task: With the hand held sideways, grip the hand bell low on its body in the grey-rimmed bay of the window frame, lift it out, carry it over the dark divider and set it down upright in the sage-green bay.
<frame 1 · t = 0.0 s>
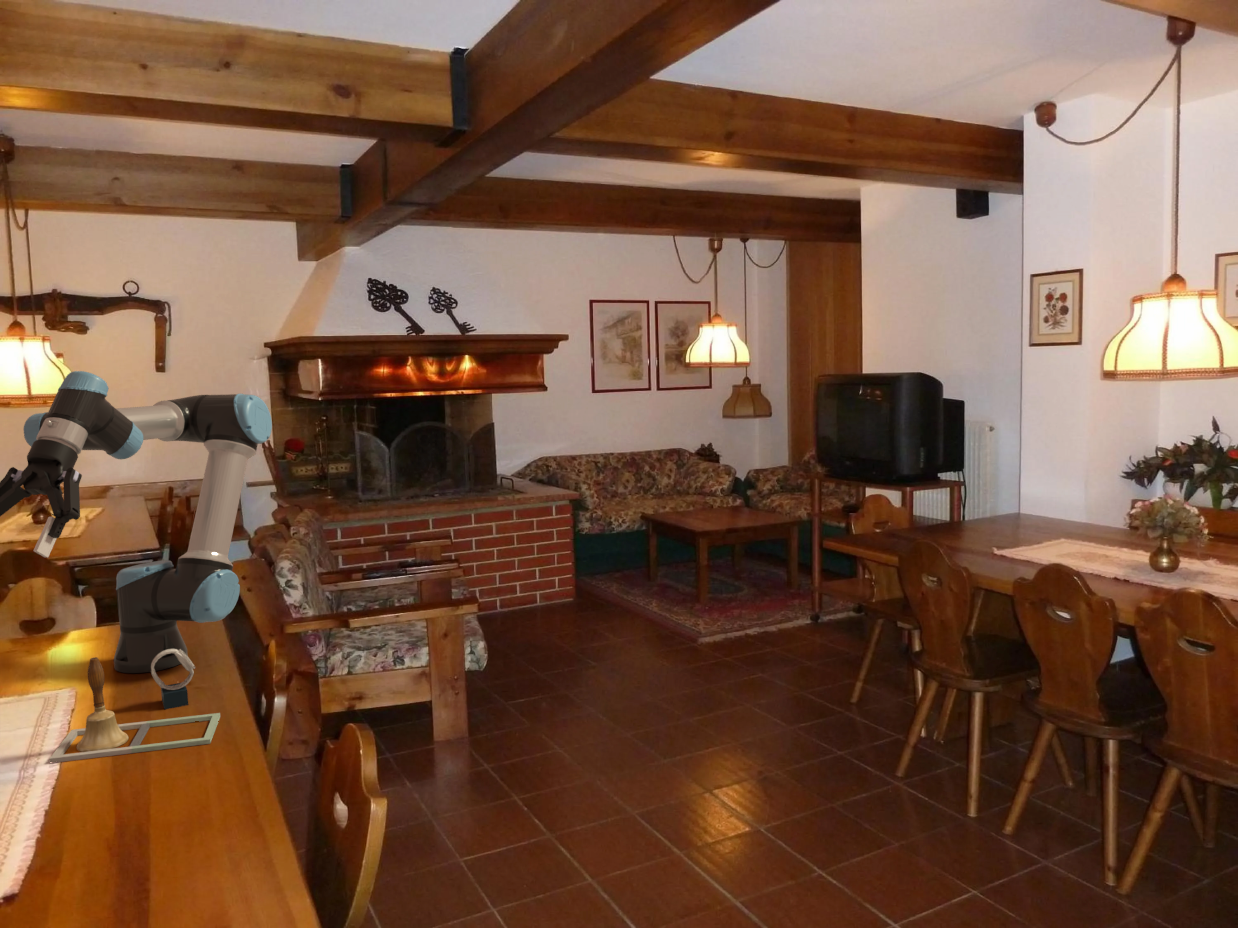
hand: (7, 553, 161), 36 cm above the table, tool tilted 35°, fingers open, 13 cm apart
watch: (175, 703, 188), on the table
hand bell: (103, 744, 168), resting in window frame
window frame: (140, 738, 170), on the table
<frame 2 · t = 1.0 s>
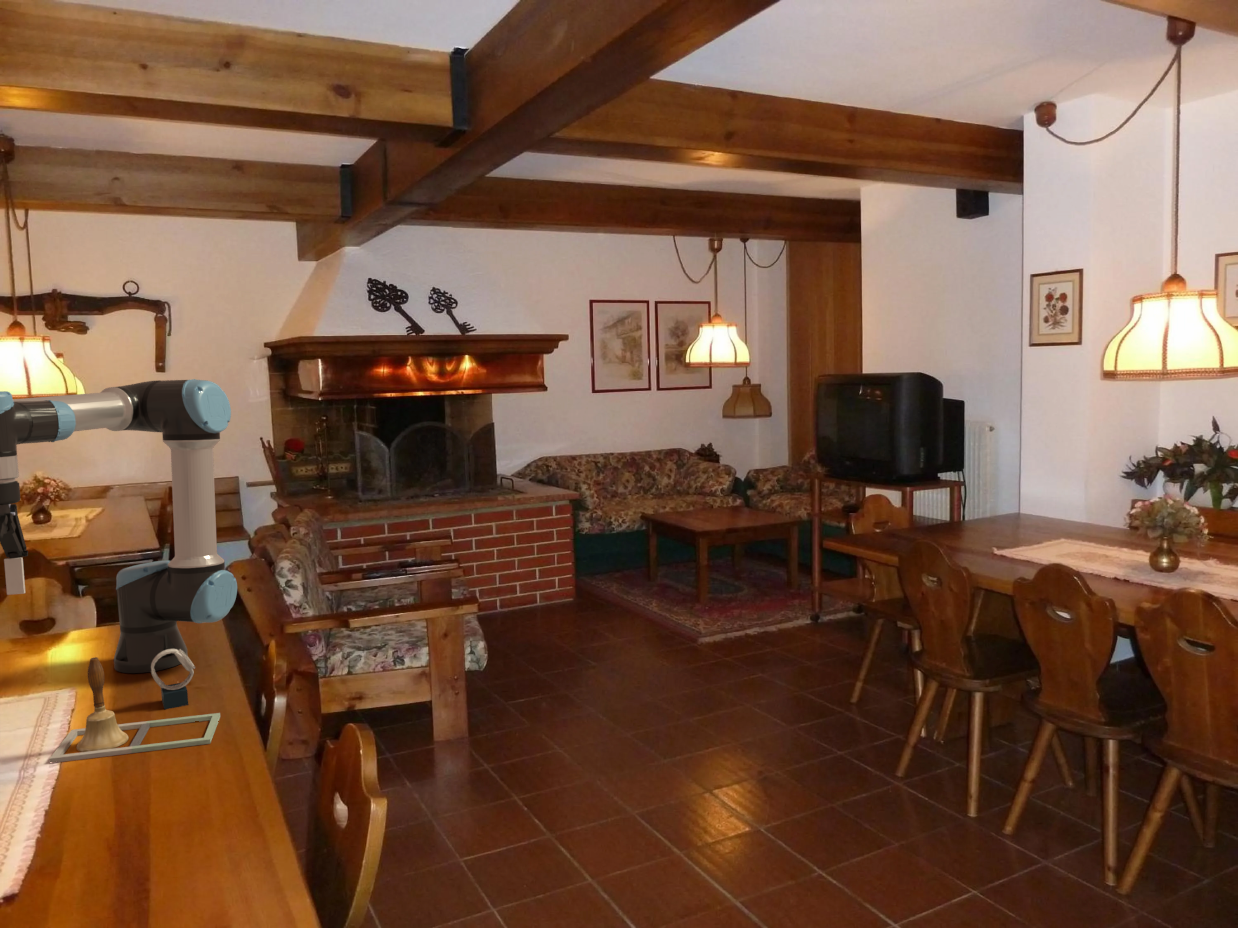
hand: (3, 602, 162), 27 cm above the table, tool pointing down, fingers open, 13 cm apart
nothing on the table moved.
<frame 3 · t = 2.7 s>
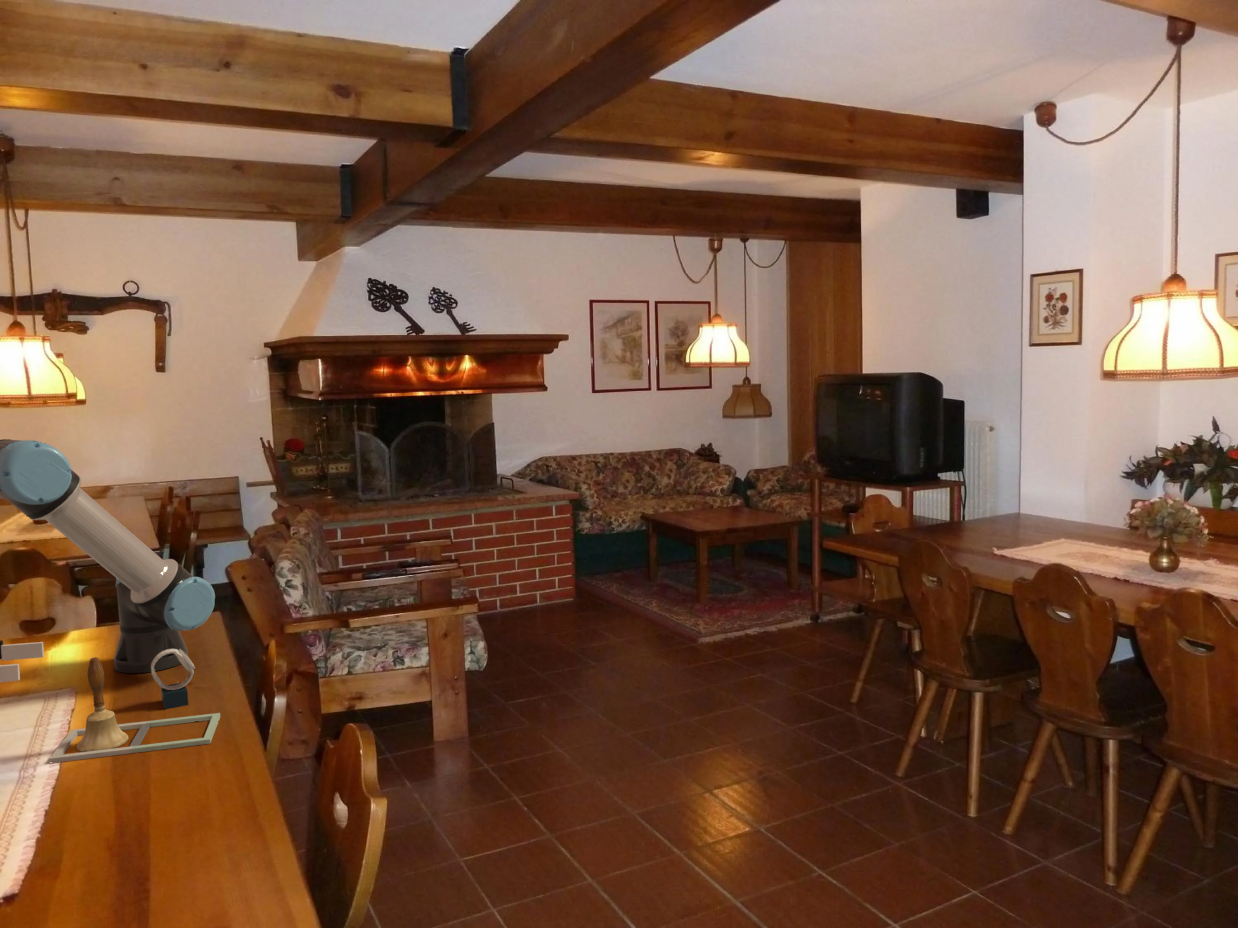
hand: (31, 660, 164), 17 cm above the table, tool horizontal, fingers open, 13 cm apart
nothing on the table moved.
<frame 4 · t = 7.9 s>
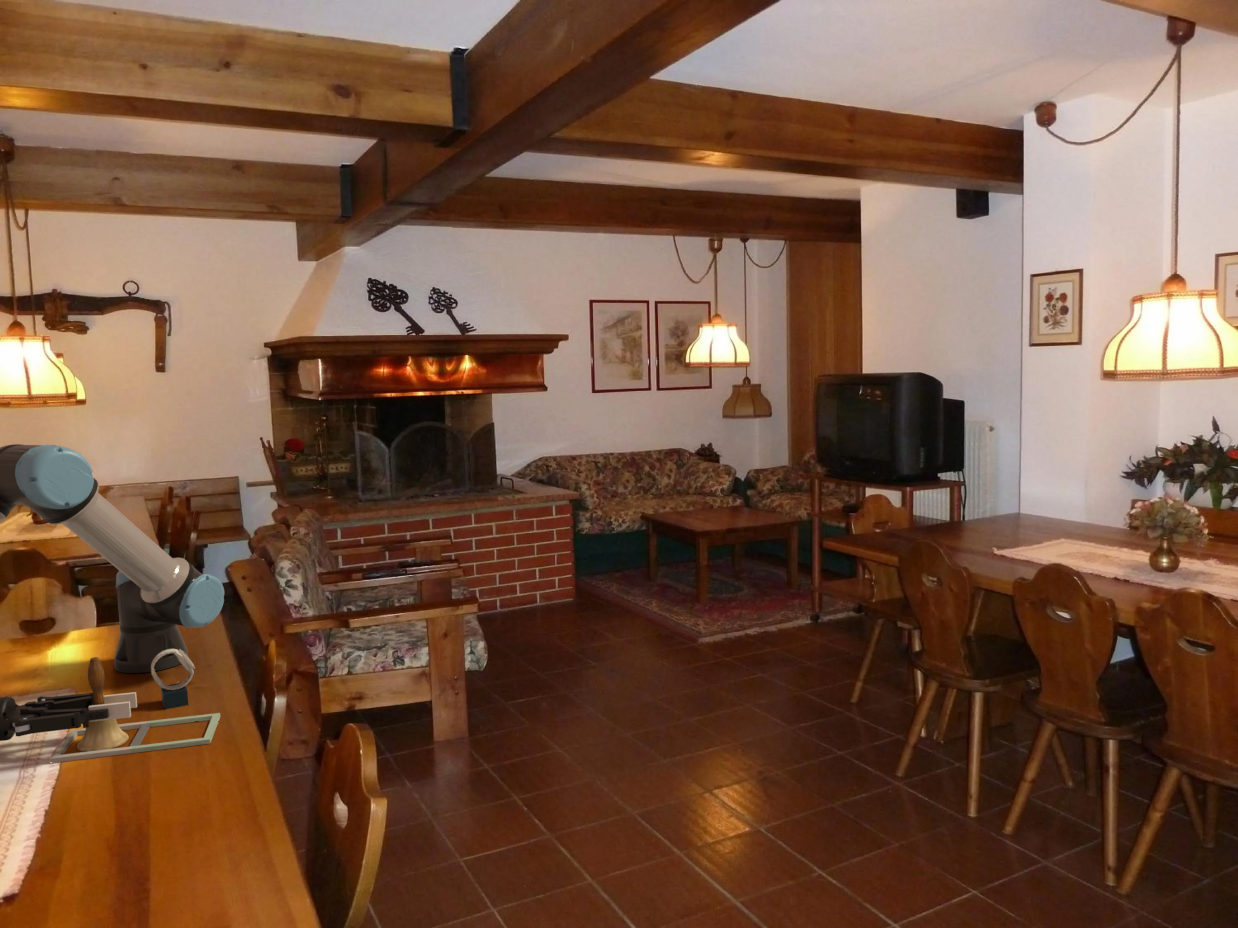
hand: (132, 704, 169), 7 cm above the table, tool horizontal, fingers closed on hand bell, 4 cm apart
hand bell: (103, 744, 168), resting in window frame, touching gripper
everything else where it was.
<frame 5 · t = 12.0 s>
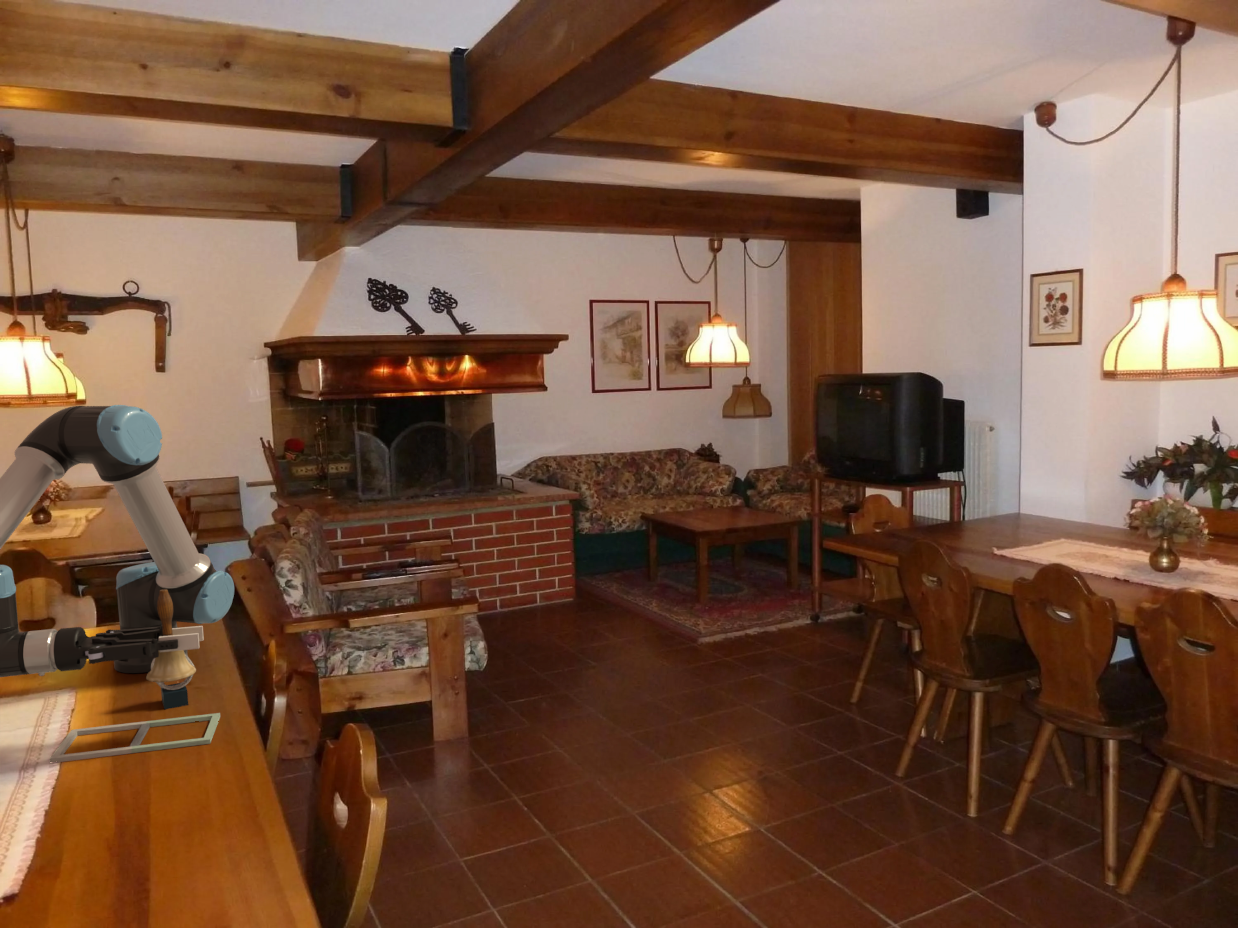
hand: (200, 636, 171), 18 cm above the table, tool horizontal, fingers closed on hand bell, 4 cm apart
hand bell: (171, 675, 170), point 11 cm above the table, touching gripper
everything else where it was.
when the fingers open (7 cm above the table, at t = 16.1 s): hand bell stays where it is, resting in window frame.
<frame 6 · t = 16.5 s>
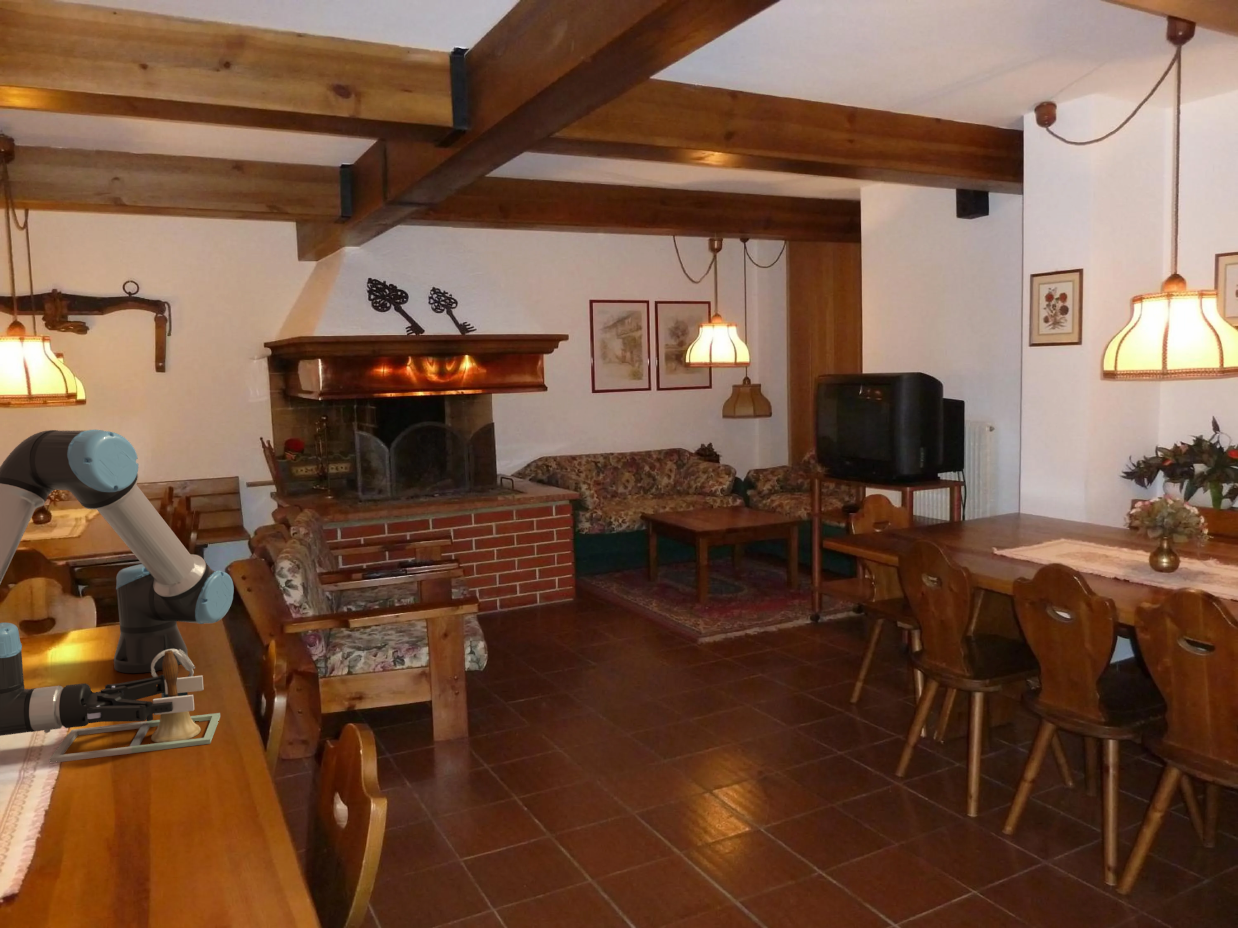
hand: (198, 692, 172), 7 cm above the table, tool horizontal, fingers open, 10 cm apart
hand bell: (176, 735, 172), resting in window frame
everything else where it was.
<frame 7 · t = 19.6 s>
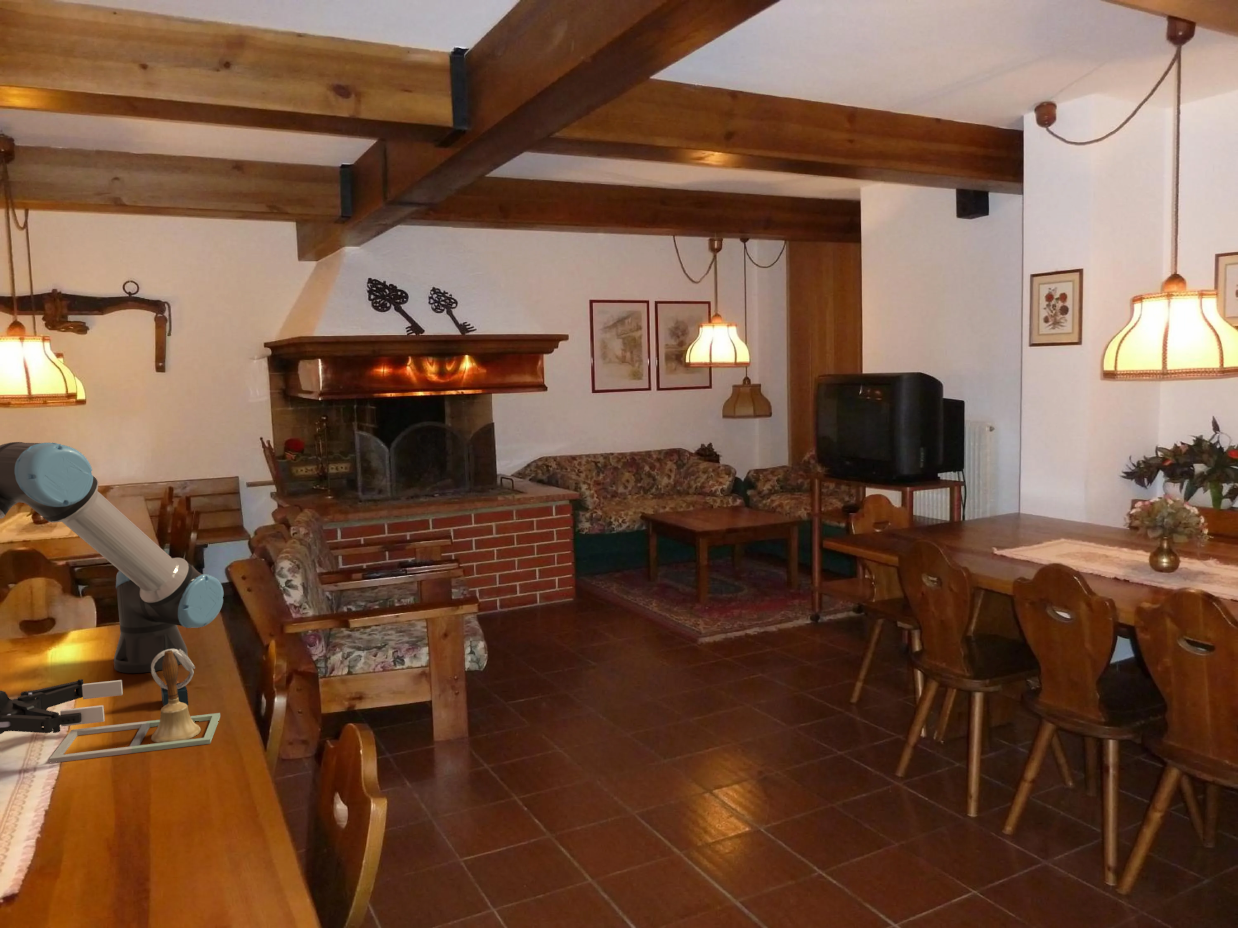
hand: (113, 699, 168), 8 cm above the table, tool horizontal, fingers open, 13 cm apart
nothing on the table moved.
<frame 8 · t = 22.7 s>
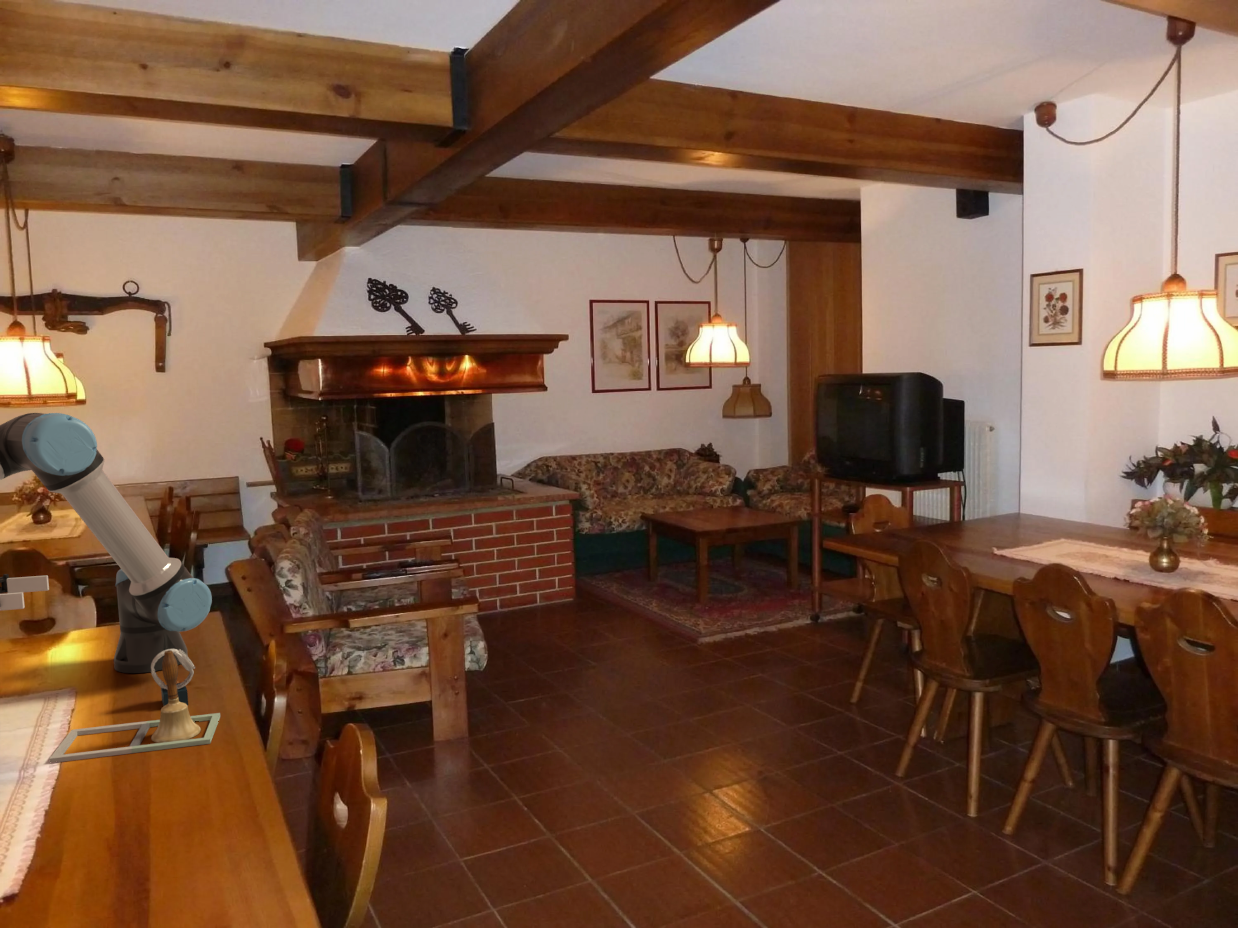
hand: (36, 591, 167), 28 cm above the table, tool horizontal, fingers open, 13 cm apart
nothing on the table moved.
at the end: hand bell inside the target area on the window frame (0.0 cm from its centre), point 0.0 cm above the window frame's base; hand bell tilted 0°; the gripper is holding nothing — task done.
